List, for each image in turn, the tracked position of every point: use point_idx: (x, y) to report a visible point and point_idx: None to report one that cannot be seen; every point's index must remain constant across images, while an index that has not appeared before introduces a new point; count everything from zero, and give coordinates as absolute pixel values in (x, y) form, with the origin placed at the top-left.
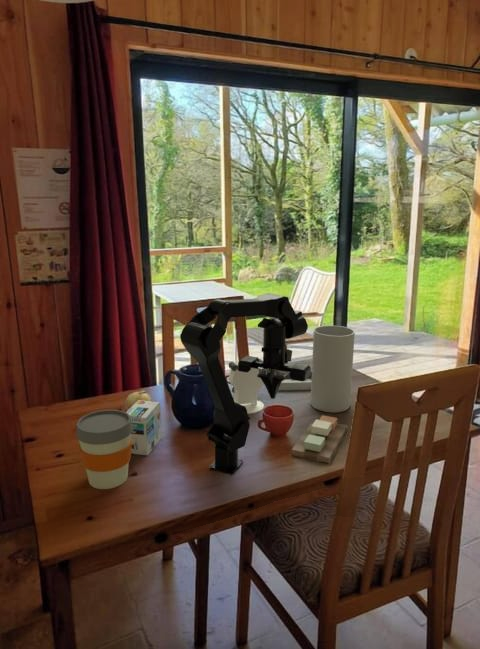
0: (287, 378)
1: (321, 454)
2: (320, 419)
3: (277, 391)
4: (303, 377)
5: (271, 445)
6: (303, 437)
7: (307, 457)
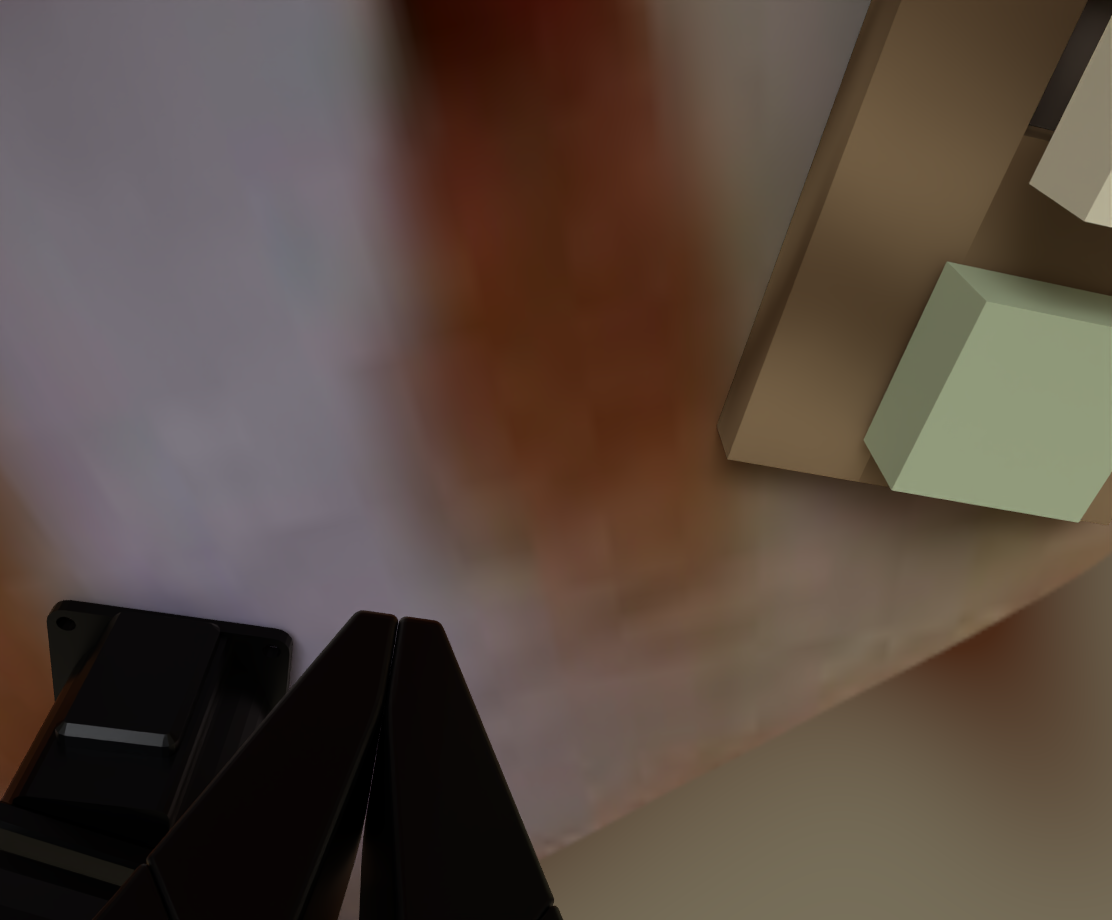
0: None
1: None
2: None
3: (492, 773)
4: None
5: (471, 284)
6: (885, 145)
7: None
